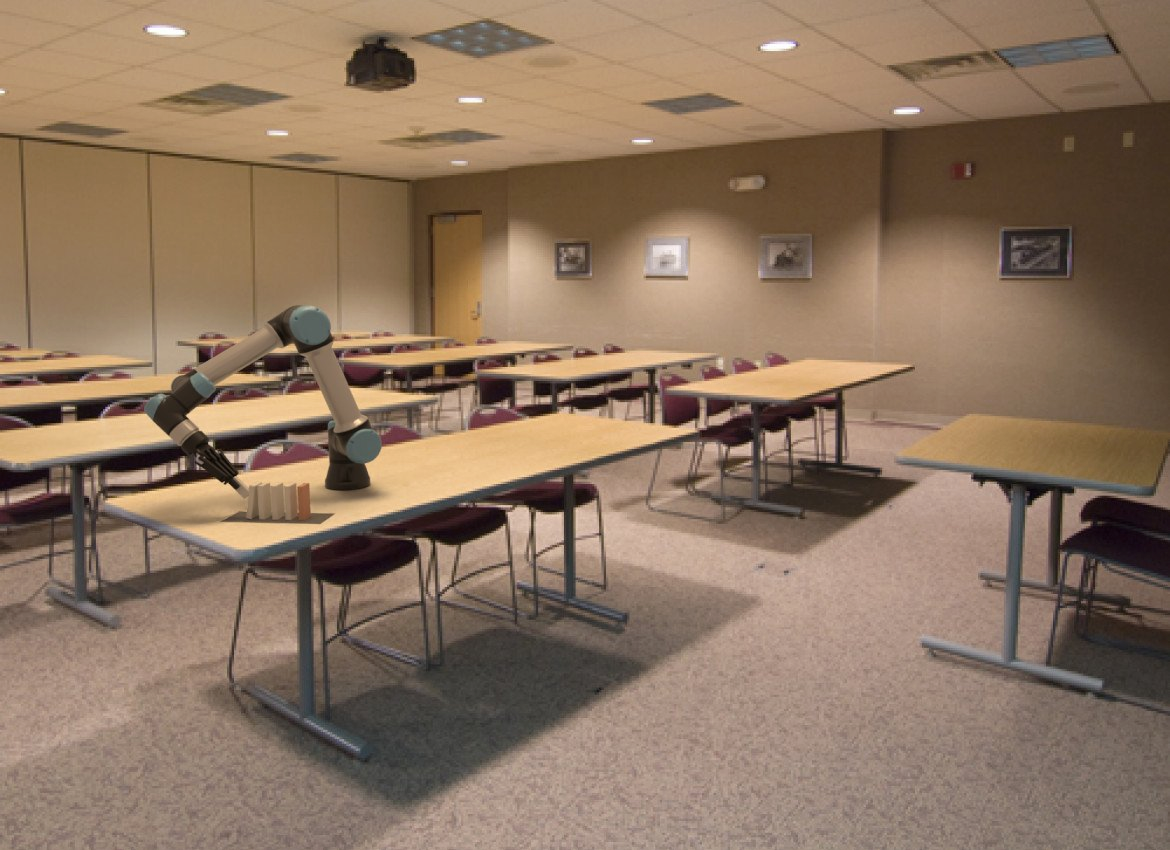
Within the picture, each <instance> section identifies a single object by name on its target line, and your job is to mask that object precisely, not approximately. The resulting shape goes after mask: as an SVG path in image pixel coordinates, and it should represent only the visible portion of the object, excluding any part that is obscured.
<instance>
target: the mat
mask: <svg viewBox="0 0 1170 850" xmlns="http://www.w3.org/2000/svg"><path fill="white" fill-rule="evenodd" d="M246 514H247V511H242V510H241V511H238V512H235V513H234V514H232V515H230V516H228V517H226V518H224V519H222V520H220V521H219V522H220V523H253V524H254V523H256V524H257V523H258V524H259V523H260V524H294V525H296V524H298V525H299V524H302V525H303V524H304V525H305V524H306V525H308V524H309V525H321V524H323V523H324V522H326V521H327V520H329V519H330V518H331V517H333V516H335V515H336V513H335V512H334V513H331V512H329V513H325V512H311V516H310V517H309V518H307V519H306V520H299V512H298V516H297V517H295V518H293V519H292V520H286V516H283V517H281V518H280V519H278V520H272V515H271V516H270V517H268V518H266V519H259V515H258V516H256V517H254V518H252V519H248V518H246Z"/></svg>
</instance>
